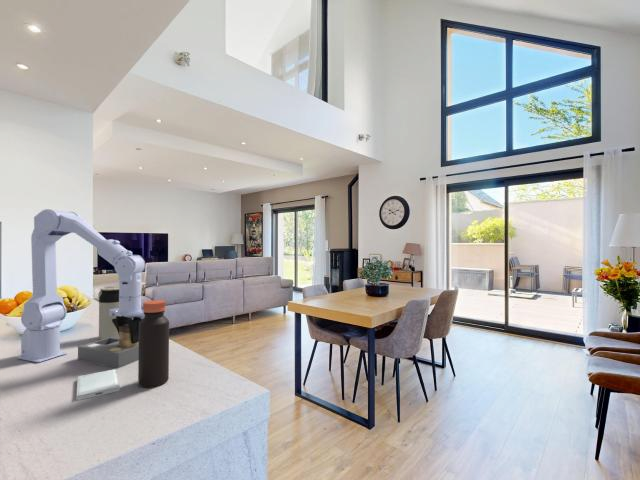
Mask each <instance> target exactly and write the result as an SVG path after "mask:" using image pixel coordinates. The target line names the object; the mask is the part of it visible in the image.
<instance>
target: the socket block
mask: <svg viewBox="0 0 640 480" xmlns="http://www.w3.org/2000/svg"><path fill="white" fill-rule="evenodd" d="M138 354H139V345H137V346H135V347H132V348H129V349H128V348H122V347H119V334H118V335H115V336H112V337H108V338H105V339H102V340H101V339H98V340H95V341H93V342H88V343H86V344H82V345H79V346H77V361H79V362H85V363H90V364H91V363H92V364H96V365H101V366H106V367H112V368H118V369H119V368H122V367H125V366H126V365H127V366H128V365H129V364H132V363H134V362H137V361H138Z"/></svg>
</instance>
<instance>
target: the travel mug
mask: <svg viewBox="0 0 640 480" xmlns="http://www.w3.org/2000/svg"><path fill="white" fill-rule="evenodd" d="M99 290H100V292H101V293H100V295H99V297H98V340H102V339H105V338H108V337H112V336H115V335H118V331H117V329H116V327H115V325H114V324H113V322H112V319H115V318H116V316H109V310H110V309H115V308H116V309H119V285H111V286H103V287H99Z"/></svg>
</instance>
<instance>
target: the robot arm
mask: <svg viewBox="0 0 640 480" xmlns="http://www.w3.org/2000/svg"><path fill="white" fill-rule="evenodd" d="M33 225H34V226H33V230H32V233H31V237H30V240H31V275H32V276H31V277H32V279H31V280H32V296H31V297H30V298H29V299H28V300H27V301H26V302H25V303H24V304H23V311H22V313H21V316H20V317H21V318H20V320H21V321H20V322H21V324H22V326H24V327H25V329H24V331H23V332H22V333H21V339H20V341H21V342H20V348H21V349H20V355H18V356H17V357H16V358H17V359H18V360H23V361H28V362H33V363H40V362H44V361H47V360H52V359H54V358H57V357H60V356H64V355H67V354H68V352H67V351H64V350H61V325H62V323H63V320H64V319H65V318H66V316H67V314H68V313H67V312H68V310H67V308H66V305H65V303H64V297H63V296H62V295H60V294H58V293H57V292H58V284H57V282H58V280H57V255H56V254H57V249H56V243H57V242H58V241H59V240H60V239H61V238H62V237H65V236H67V235H69V234H72V233H73V234H75V235H77V236H79V237H81V238H82V239H83V240H85V241H86V242H87V243H89V244H91V245H92V246H94V247H96V249H97V250H96V252H97V253H96V254H98V255H99V256H100V257H101V258H103V259H104V260H105V261H107V262H108V263H109V264H111V265H112V266H113V267H114V270H115V272H116V275H117V276H118V282H119V283H118V286H119V309H116V308H115V309H110V310H109V316H116V318H115V319H112V322H113V324H114V325H115V327H116V329H117V331H118V334H119V327H120V326H123V325H127V324H128V325H129V329H130V335H131V343H132V344H134V343H137V342H139V323H140V321H141V320H142V319H143V318H144V317H145V314H144V312H143V309H142V276H143V275H142V274H143V272H144V271H145V269H146V261H145V259H144V258H143V257H142V256H141V255H139V254H133V251H131V250H128V249H126V248H125V246H123V245H121V241H119V240H118V239H111V238H110V239H106V238H105V237H104V236H103V235H102V234H100V232H99V231H97V230H96V228H94V227H93V226H92V225H90V224H89V223H88V222H87V221H85V218H84V217H83V216H80V214H78V213H77V212H74V211H65V210H64V211H63V210H55V209H49V208H48V209H47V208H46V209H42V210H41V211H40V212H38V213H37V214H36V215H35V216H34V217H33Z"/></svg>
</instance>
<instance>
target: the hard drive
mask: <svg viewBox="0 0 640 480" xmlns="http://www.w3.org/2000/svg"><path fill="white" fill-rule="evenodd" d="M76 380H77V381H76V396H75V397H76V399H75V400H76V402H77V401H80V400H85V399H89V398H94V397H98V396H102V395H107V394H113V393H115V392H120V390H121V388H120V383H119V378H118V375H117V371H116V369H109V370H104V371H99V372H94V373H89V374H84V375H79V376H77V379H76Z"/></svg>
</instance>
